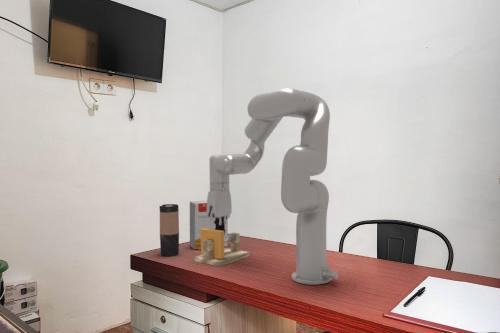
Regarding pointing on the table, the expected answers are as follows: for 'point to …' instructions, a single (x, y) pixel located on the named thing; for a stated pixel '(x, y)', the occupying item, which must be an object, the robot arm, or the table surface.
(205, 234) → the collar
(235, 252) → the pipe stand
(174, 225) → the travel mug
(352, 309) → the table surface
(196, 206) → the hard drive box
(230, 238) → the pipe
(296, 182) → the robot arm
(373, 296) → the table surface
